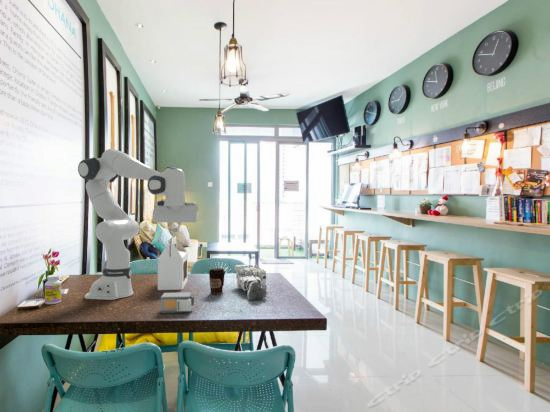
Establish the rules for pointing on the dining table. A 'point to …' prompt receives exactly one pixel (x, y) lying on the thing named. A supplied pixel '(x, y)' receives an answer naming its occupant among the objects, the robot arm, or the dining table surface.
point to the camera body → (174, 301)
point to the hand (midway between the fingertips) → (175, 232)
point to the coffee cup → (216, 280)
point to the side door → (183, 304)
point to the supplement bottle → (53, 290)
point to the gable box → (173, 266)
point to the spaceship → (251, 280)
